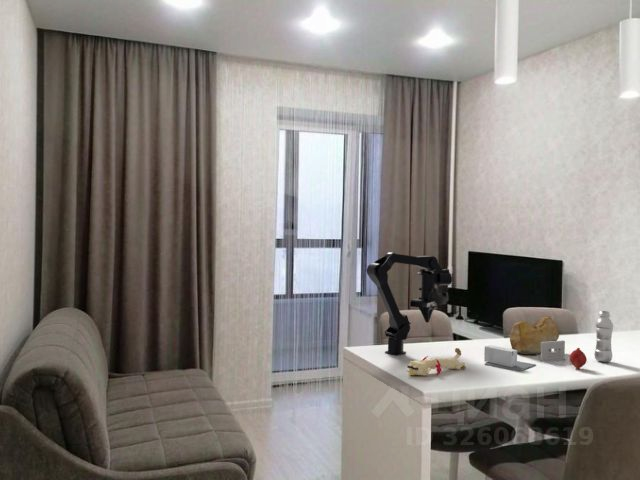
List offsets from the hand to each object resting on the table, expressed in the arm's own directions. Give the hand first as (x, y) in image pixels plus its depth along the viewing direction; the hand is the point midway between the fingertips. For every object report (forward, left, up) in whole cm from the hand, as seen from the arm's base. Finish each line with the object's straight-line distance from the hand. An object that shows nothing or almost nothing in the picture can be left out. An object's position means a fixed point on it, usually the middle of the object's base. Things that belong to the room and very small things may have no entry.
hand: (427, 322), depth 239 cm
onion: (+16, -56, -12) cm, 59 cm away
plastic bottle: (+36, -59, -12) cm, 70 cm away
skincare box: (+1, -27, -8) cm, 28 cm away
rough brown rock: (+34, -30, -12) cm, 47 cm away
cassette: (+23, -44, -12) cm, 51 cm away
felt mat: (+2, -36, -12) cm, 38 cm away
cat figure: (-29, -22, -12) cm, 39 cm away
